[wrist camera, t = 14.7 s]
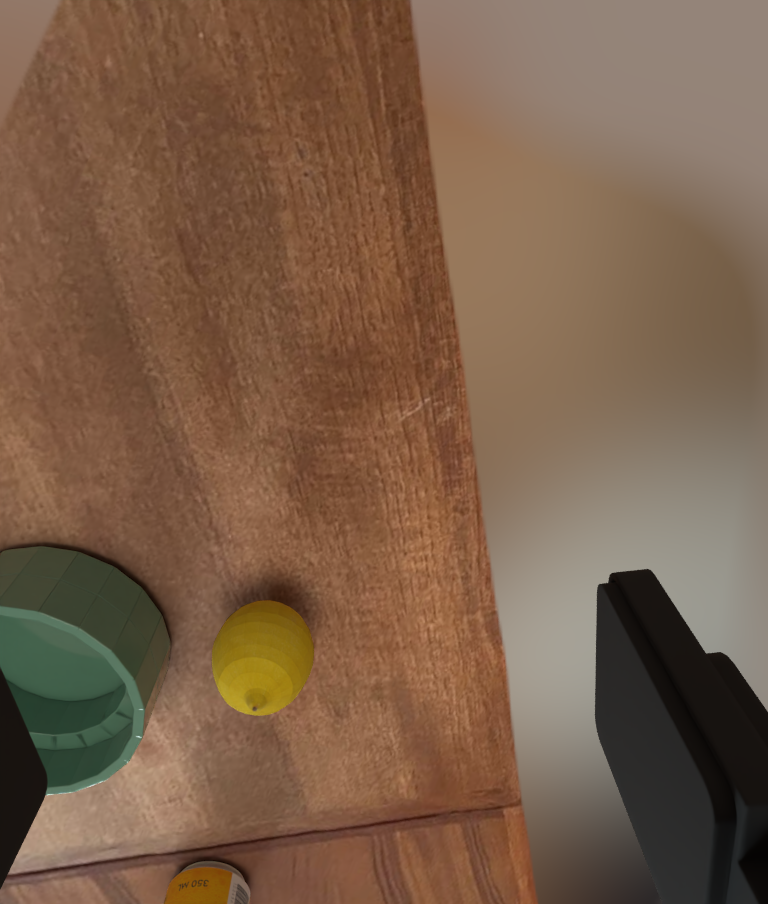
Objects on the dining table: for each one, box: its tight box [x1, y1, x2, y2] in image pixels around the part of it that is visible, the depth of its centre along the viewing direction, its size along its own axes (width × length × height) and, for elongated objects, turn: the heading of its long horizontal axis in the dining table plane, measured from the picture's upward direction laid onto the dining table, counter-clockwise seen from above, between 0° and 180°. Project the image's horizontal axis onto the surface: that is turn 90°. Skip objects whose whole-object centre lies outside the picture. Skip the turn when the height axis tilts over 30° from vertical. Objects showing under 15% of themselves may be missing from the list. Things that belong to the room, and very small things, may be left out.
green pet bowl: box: [0, 546, 171, 795], centre depth 40 cm, size 13×13×6 cm
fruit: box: [212, 600, 314, 716], centre depth 39 cm, size 6×6×8 cm
